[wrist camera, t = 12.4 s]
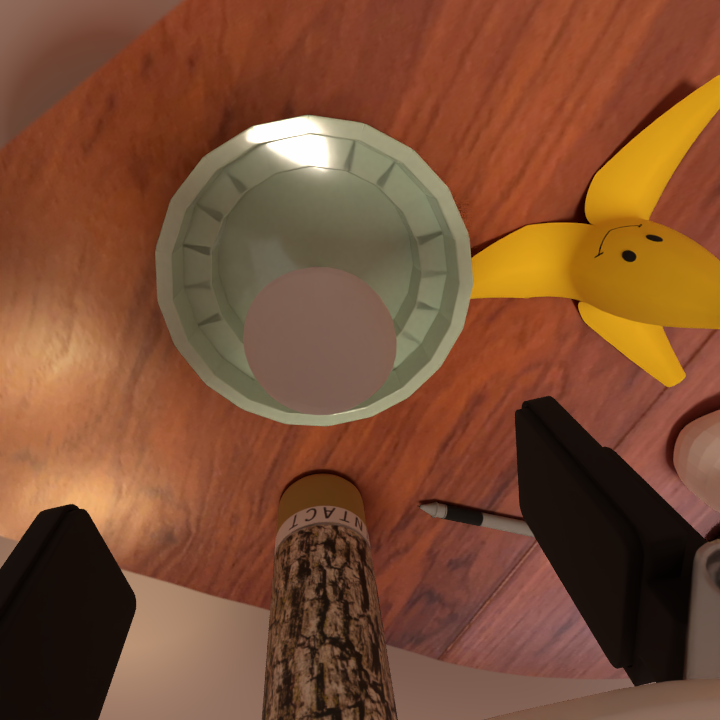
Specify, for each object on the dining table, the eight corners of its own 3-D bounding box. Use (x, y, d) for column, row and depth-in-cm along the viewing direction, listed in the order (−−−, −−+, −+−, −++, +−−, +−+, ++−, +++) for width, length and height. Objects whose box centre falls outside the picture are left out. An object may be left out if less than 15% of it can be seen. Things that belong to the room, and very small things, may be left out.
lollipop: (247, 274, 30) (197, 384, 16) (306, 198, 28) (305, 250, 15) (324, 332, 32) (338, 473, 18) (383, 264, 30) (444, 363, 17)
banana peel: (425, 273, 32) (535, 393, 16) (687, 73, 28) (1133, -8, 13) (540, 433, 38) (696, 626, 23) (765, 286, 35) (1125, 398, 19)
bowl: (142, 154, 27) (100, 156, 22) (426, 95, 27) (456, 83, 22) (229, 402, 34) (214, 451, 29) (455, 353, 34) (483, 393, 29)
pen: (578, 540, 44) (585, 551, 42) (412, 506, 40) (415, 517, 39) (585, 529, 43) (593, 540, 42) (418, 494, 39) (421, 505, 38)
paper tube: (350, 539, 41) (405, 1036, 18) (271, 529, 39) (223, 1052, 17) (372, 475, 38) (468, 961, 16) (288, 462, 37) (259, 972, 14)
